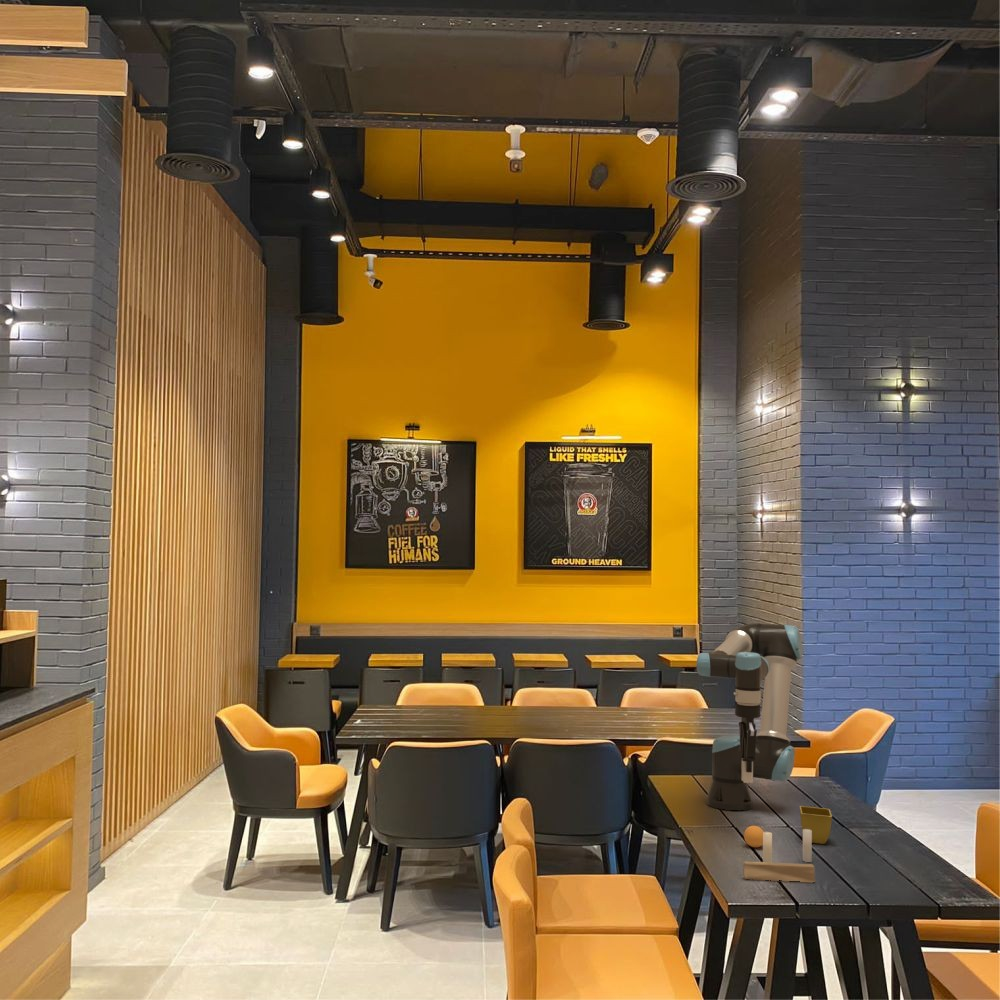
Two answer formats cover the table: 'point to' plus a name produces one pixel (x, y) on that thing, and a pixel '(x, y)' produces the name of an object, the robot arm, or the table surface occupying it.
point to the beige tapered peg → (807, 845)
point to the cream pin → (767, 847)
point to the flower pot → (816, 822)
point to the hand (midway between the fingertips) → (747, 781)
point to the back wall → (779, 871)
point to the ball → (754, 836)
